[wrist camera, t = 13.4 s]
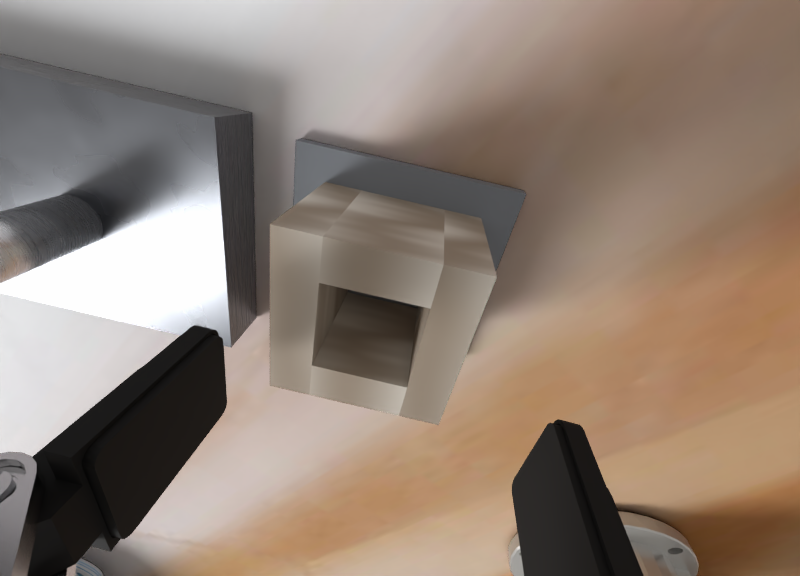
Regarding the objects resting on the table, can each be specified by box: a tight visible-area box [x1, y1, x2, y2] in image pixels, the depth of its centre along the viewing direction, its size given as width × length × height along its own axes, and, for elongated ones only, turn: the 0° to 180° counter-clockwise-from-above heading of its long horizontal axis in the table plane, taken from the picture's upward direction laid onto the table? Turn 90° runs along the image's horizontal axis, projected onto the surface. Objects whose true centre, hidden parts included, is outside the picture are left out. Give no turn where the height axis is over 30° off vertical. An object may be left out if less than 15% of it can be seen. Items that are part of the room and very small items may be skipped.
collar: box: [270, 182, 497, 425], centre depth 13 cm, size 6×6×5 cm
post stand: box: [0, 54, 256, 347], centre depth 12 cm, size 12×10×8 cm
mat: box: [293, 138, 526, 309], centre depth 16 cm, size 9×9×1 cm
